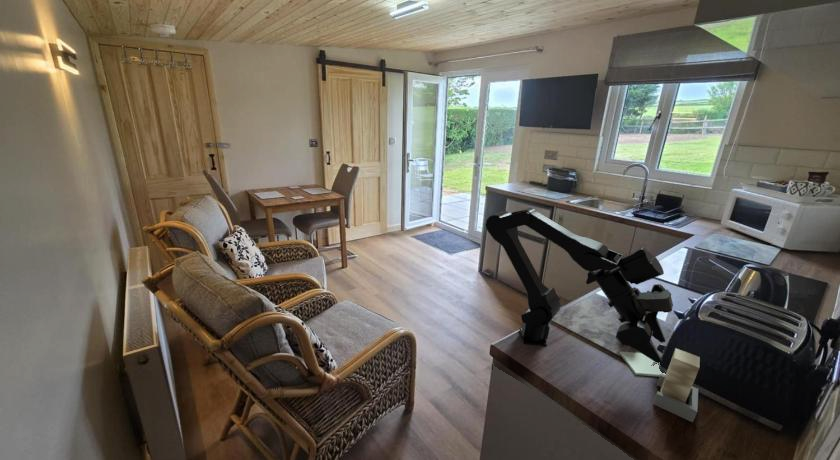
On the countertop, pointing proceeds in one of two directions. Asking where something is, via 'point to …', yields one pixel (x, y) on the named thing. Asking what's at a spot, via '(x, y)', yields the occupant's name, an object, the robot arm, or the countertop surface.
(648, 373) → the sage pad
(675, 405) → the grey holder
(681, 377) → the block
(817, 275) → the countertop surface
